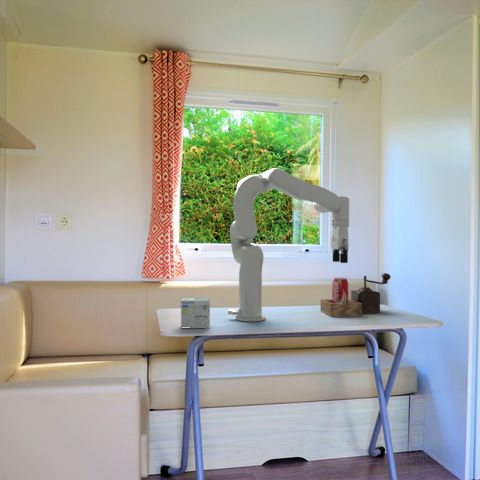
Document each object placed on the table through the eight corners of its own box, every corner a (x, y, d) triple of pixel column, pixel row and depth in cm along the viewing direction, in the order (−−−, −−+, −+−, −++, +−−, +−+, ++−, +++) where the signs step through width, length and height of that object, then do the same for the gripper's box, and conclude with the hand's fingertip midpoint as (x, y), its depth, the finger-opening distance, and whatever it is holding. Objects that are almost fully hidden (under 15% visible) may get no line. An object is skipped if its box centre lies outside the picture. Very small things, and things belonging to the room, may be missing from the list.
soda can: (348, 306, 182) (348, 278, 182) (332, 305, 184) (332, 278, 184) (348, 303, 189) (348, 277, 189) (332, 303, 190) (332, 277, 190)
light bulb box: (209, 325, 162) (209, 297, 162) (209, 328, 155) (209, 300, 155) (182, 325, 161) (182, 297, 161) (180, 329, 155) (180, 300, 155)
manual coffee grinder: (359, 313, 186) (359, 273, 186) (350, 309, 197) (350, 271, 197) (392, 313, 188) (392, 273, 188) (381, 309, 199) (381, 271, 199)
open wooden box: (330, 316, 179) (330, 304, 179) (320, 311, 193) (320, 299, 193) (361, 316, 180) (361, 303, 180) (349, 310, 194) (349, 298, 194)
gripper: (326, 224, 195) (325, 261, 195) (339, 223, 177) (338, 263, 177) (341, 225, 195) (341, 261, 195) (355, 223, 178) (355, 263, 178)
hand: (339, 262), depth 186 cm, fingers open, 9 cm apart
